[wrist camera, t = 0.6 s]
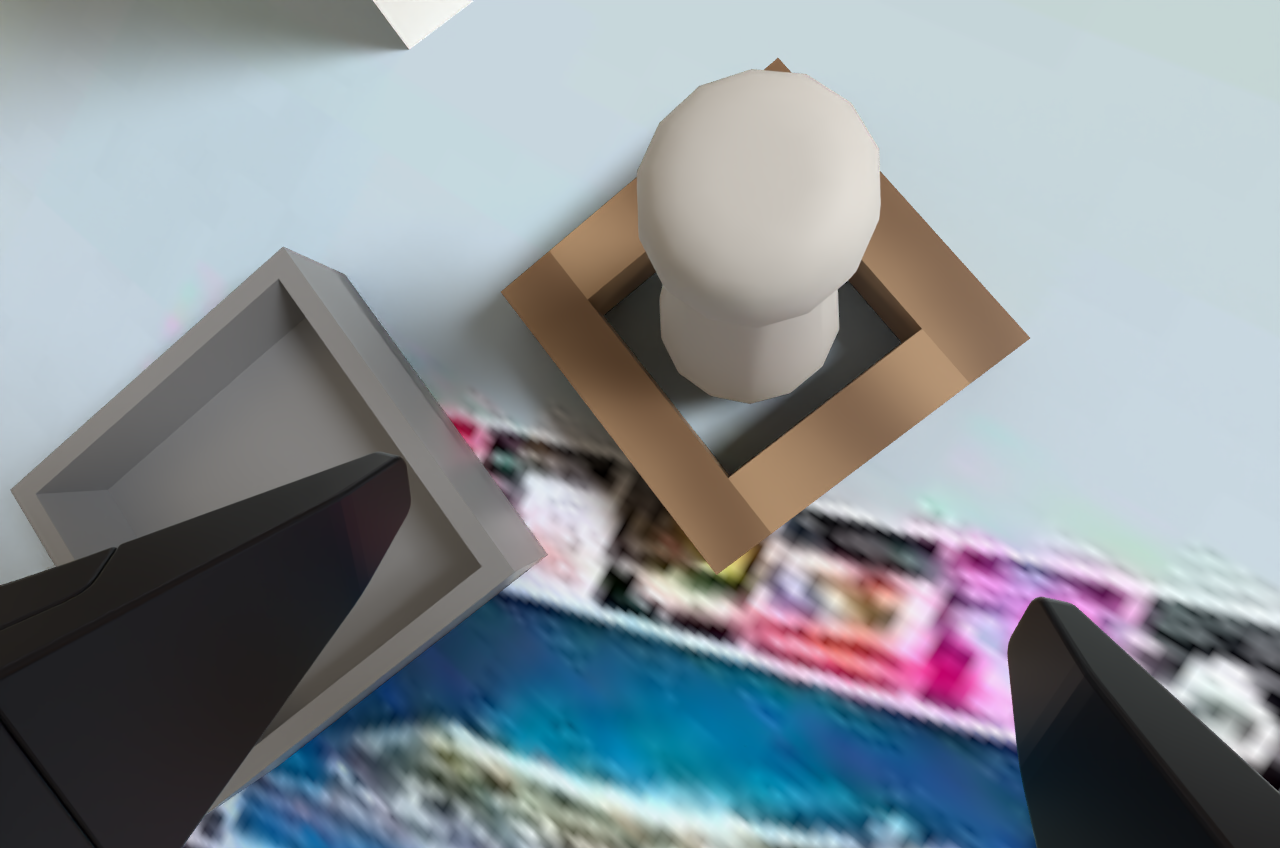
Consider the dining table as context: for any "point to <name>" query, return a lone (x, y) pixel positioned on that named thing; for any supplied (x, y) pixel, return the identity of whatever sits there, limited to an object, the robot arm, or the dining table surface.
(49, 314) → the dining table surface
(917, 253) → the brown flat square frame
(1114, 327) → the dining table surface
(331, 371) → the bin
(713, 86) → the salt shaker
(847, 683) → the dining table surface
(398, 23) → the milk
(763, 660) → the dining table surface
